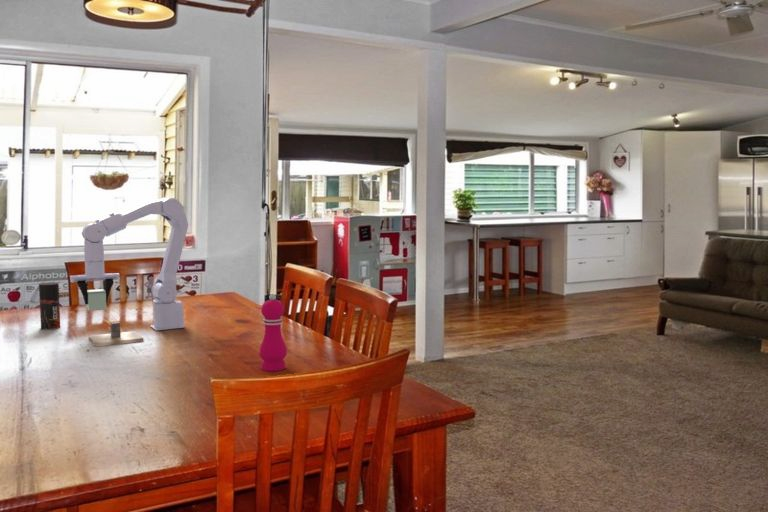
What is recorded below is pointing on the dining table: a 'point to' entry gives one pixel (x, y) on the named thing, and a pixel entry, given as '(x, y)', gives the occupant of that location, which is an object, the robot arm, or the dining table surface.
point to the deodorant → (49, 305)
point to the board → (114, 340)
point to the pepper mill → (272, 336)
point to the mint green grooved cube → (96, 300)
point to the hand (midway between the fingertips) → (96, 303)
